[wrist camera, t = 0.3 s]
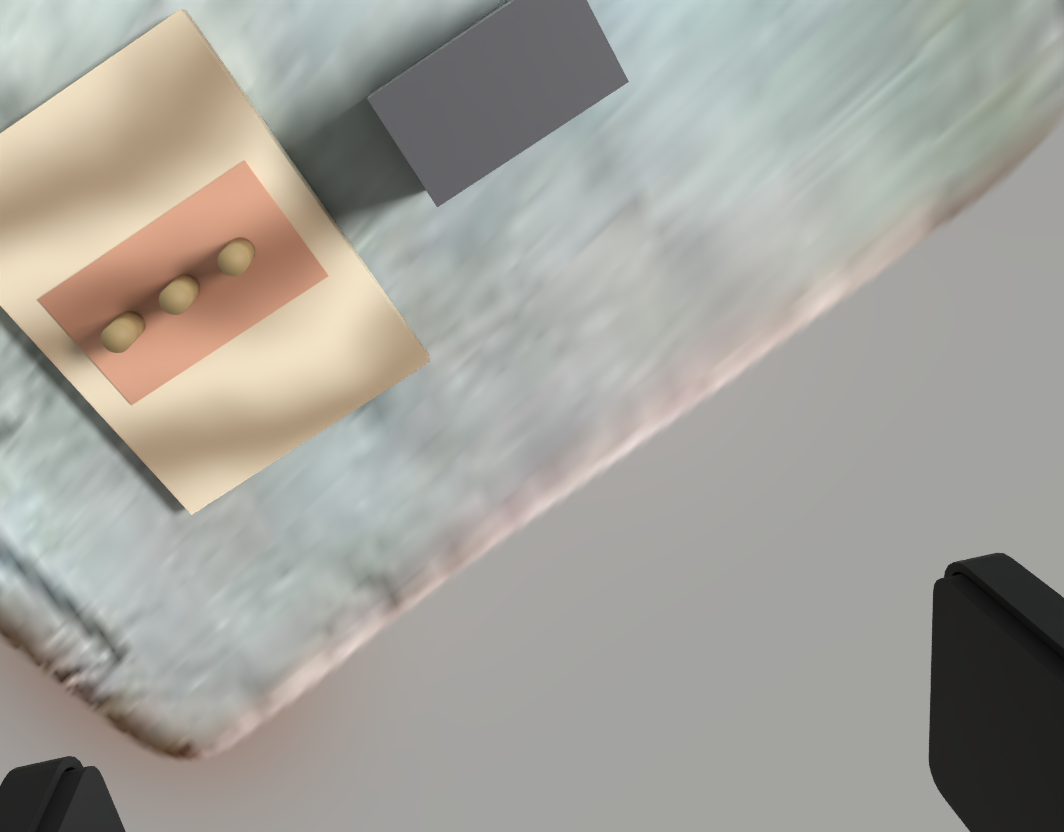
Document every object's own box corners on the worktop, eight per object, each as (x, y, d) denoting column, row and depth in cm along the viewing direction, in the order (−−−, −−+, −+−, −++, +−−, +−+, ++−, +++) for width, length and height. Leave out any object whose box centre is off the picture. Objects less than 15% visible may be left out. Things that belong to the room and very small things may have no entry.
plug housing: (369, 94, 39) (367, 98, 34) (541, -22, 39) (567, -36, 33) (430, 188, 41) (437, 207, 36) (595, 79, 41) (628, 81, 35)
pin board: (-83, 196, 38) (-130, 209, 35) (186, 10, 37) (165, 5, 34) (196, 503, 45) (180, 540, 42) (428, 354, 44) (432, 379, 41)
